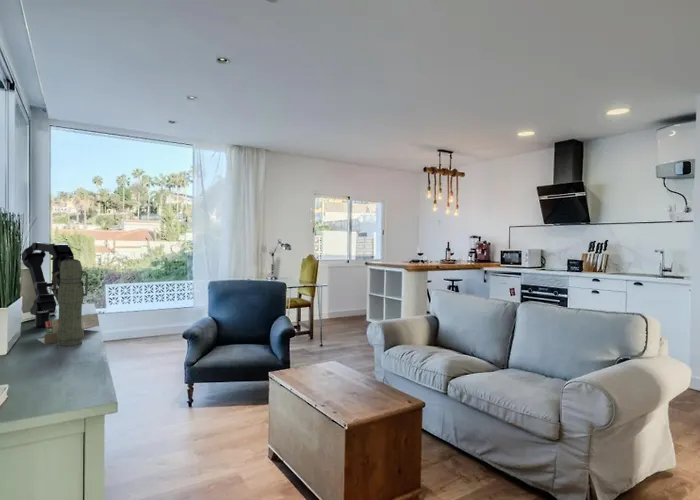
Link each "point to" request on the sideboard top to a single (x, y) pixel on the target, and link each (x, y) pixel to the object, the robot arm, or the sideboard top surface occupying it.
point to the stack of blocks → (86, 322)
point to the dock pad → (51, 338)
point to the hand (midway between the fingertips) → (59, 302)
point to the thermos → (70, 303)
